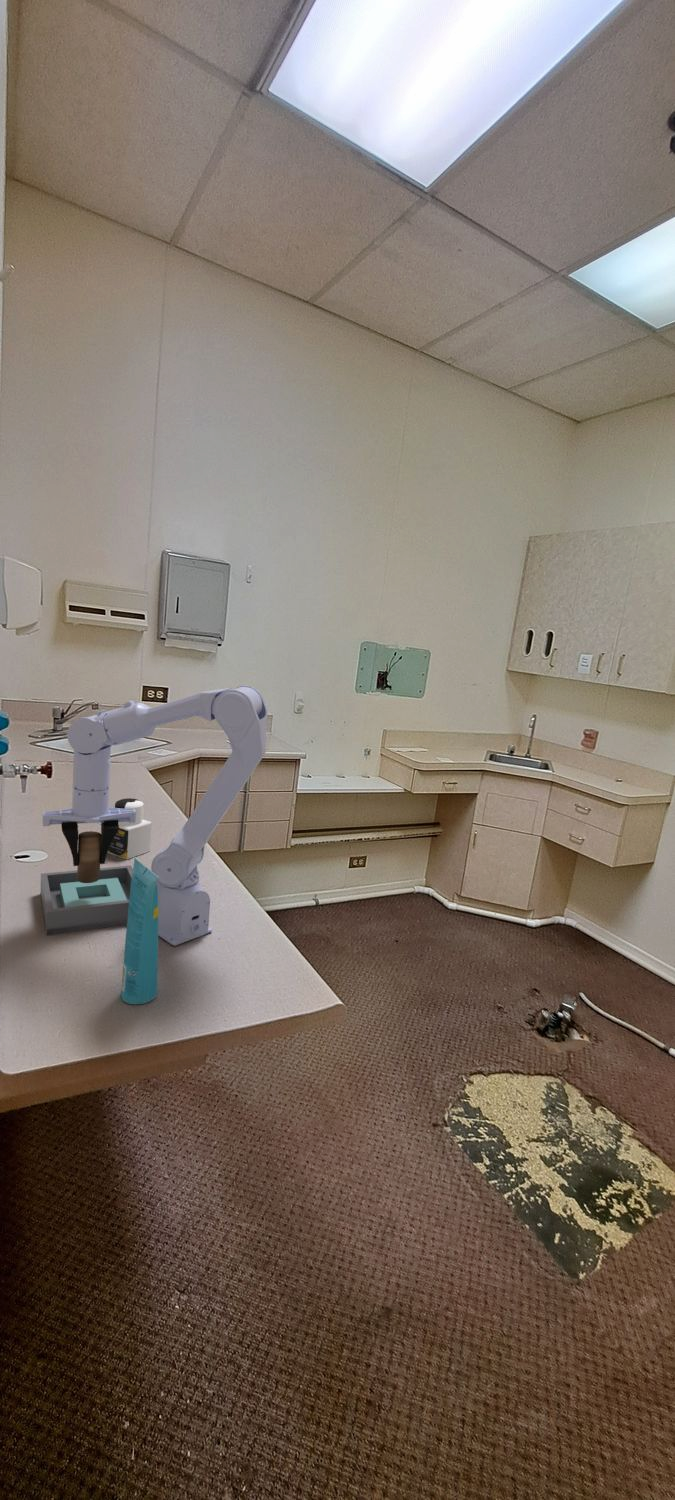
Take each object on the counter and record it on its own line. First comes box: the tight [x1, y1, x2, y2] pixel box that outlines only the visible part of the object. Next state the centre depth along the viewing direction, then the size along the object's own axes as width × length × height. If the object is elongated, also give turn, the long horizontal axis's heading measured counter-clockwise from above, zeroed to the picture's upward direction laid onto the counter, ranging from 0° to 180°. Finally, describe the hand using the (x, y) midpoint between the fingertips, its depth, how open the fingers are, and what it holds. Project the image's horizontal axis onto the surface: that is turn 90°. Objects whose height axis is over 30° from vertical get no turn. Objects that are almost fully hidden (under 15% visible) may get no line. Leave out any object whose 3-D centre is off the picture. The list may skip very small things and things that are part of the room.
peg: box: [77, 830, 101, 883], centre depth 103 cm, size 4×4×8 cm
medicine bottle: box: [107, 797, 152, 860], centre depth 134 cm, size 7×7×12 cm
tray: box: [40, 864, 133, 936], centre depth 108 cm, size 16×16×4 cm
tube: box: [120, 857, 159, 1005], centre depth 83 cm, size 7×5×19 cm, turn 47°
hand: (88, 862), depth 103 cm, fingers closed on peg, 4 cm apart
